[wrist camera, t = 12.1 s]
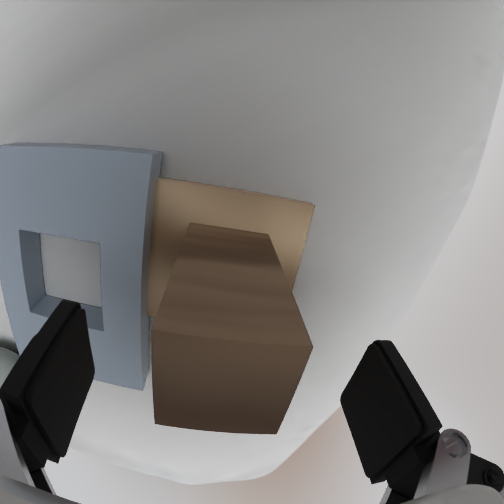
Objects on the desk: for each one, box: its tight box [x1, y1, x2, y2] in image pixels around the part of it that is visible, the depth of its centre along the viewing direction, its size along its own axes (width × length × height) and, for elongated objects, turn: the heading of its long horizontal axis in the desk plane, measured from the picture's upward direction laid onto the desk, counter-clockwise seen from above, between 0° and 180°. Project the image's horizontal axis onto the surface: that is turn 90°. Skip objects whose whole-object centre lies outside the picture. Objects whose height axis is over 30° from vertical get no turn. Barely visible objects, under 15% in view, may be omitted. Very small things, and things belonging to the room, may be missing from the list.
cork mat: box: [147, 178, 315, 317], centre depth 18 cm, size 9×9×1 cm
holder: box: [0, 143, 163, 391], centre depth 17 cm, size 16×11×2 cm
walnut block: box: [152, 223, 313, 434], centre depth 13 cm, size 4×4×10 cm
